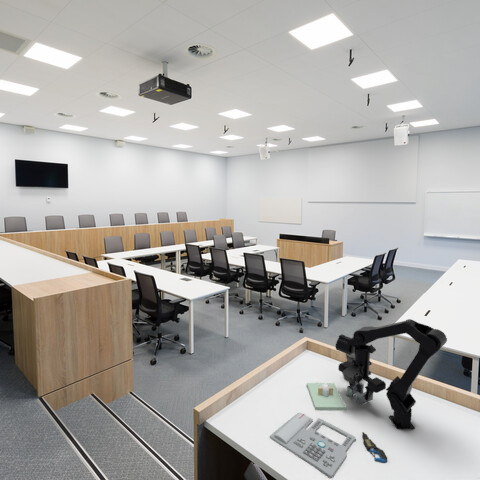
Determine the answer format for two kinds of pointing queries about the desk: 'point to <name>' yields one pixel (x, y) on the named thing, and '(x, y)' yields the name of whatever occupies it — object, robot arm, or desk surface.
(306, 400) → the desk surface
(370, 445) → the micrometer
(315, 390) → the keyed post stand
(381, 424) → the desk surface
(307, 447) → the office telephone
